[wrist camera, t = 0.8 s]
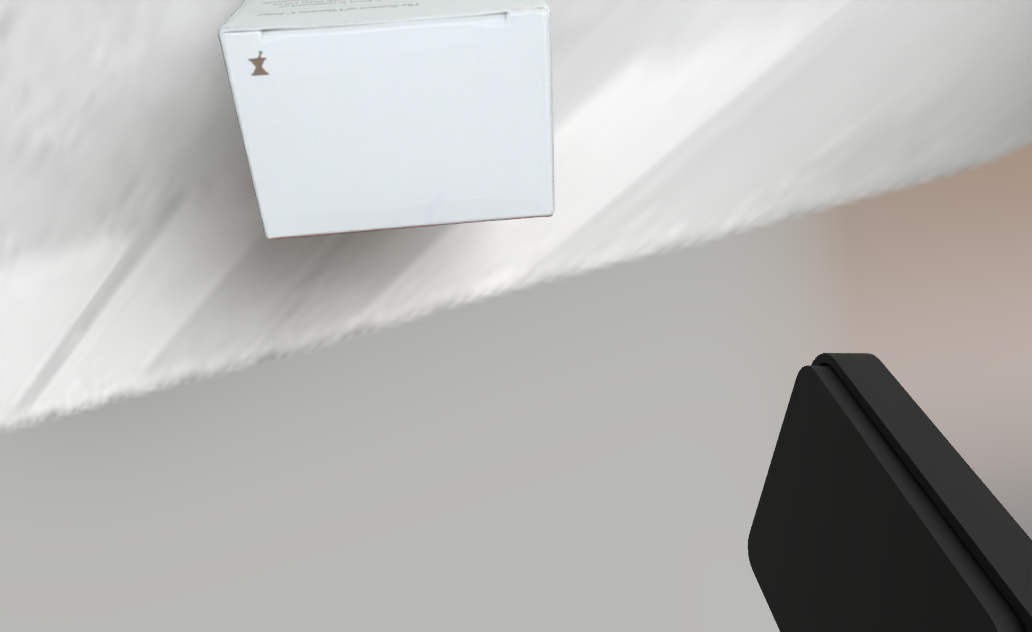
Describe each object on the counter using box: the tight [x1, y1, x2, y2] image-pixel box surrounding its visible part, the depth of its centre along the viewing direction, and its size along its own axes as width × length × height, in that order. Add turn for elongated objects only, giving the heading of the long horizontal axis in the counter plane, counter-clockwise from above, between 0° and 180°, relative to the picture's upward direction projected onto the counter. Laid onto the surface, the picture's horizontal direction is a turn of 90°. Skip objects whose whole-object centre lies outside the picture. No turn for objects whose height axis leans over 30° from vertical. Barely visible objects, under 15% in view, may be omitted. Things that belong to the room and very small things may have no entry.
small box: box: [218, 0, 555, 240], centre depth 26 cm, size 8×6×10 cm
